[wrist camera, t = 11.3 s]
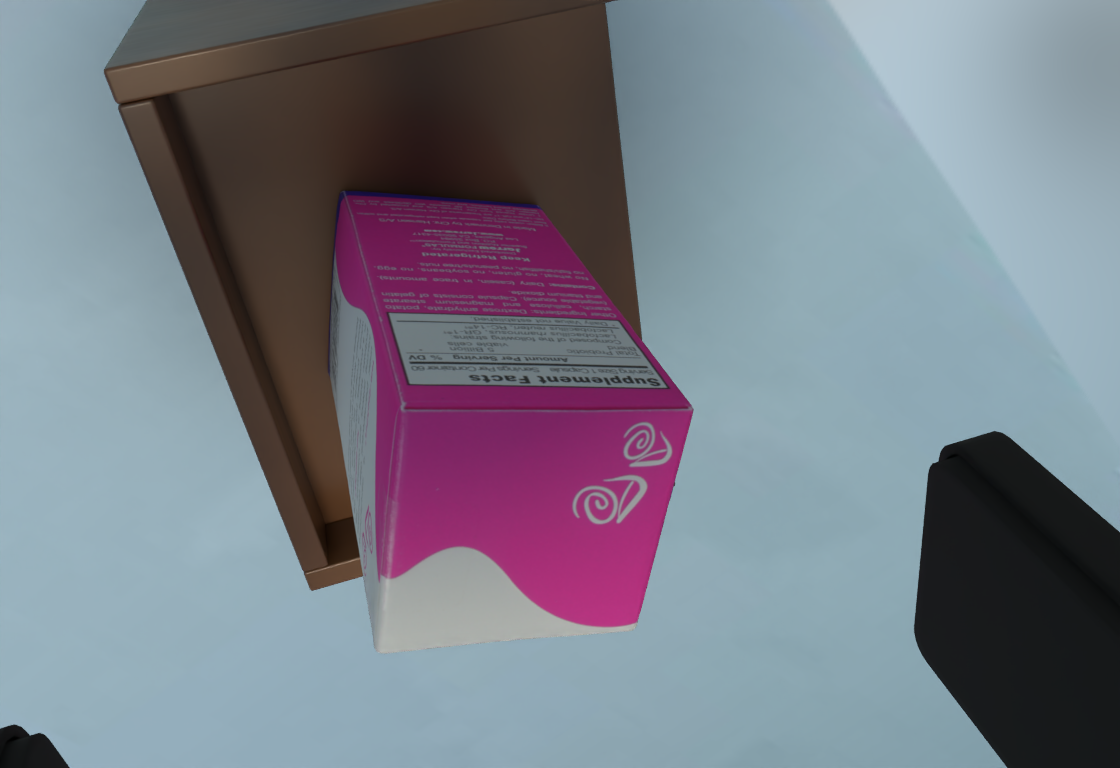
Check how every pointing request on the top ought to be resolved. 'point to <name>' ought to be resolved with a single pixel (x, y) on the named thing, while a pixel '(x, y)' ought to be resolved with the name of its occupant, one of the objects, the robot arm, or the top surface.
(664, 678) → the top surface
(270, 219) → the wooden crate
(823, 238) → the top surface
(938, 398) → the top surface
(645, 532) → the supplement box
